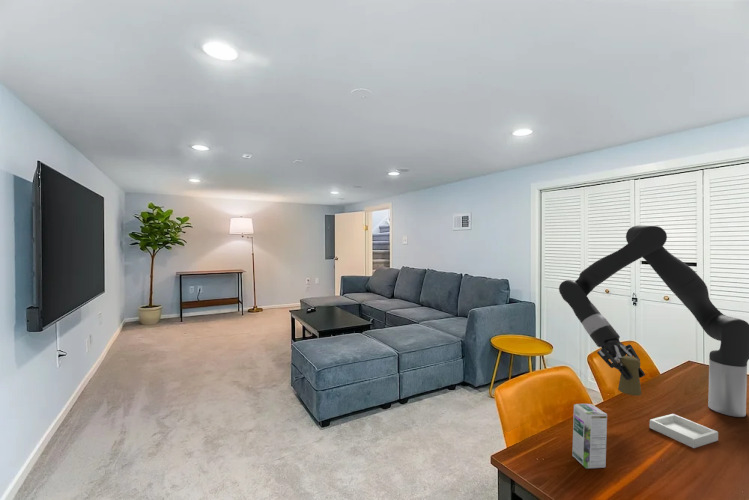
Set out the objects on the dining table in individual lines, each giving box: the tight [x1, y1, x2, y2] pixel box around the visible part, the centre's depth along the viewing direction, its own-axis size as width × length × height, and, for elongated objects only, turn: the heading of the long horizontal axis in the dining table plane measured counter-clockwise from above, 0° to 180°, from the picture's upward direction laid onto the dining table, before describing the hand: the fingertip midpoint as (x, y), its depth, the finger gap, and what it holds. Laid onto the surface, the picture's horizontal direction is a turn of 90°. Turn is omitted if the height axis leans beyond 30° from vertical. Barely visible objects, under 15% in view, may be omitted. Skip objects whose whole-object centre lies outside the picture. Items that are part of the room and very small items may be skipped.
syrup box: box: [571, 403, 608, 469], centre depth 92 cm, size 6×6×14 cm
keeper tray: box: [649, 413, 719, 449], centre depth 105 cm, size 12×12×3 cm
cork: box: [617, 355, 643, 397], centre depth 109 cm, size 6×6×11 cm
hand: (636, 377), depth 107 cm, fingers closed on cork, 5 cm apart
